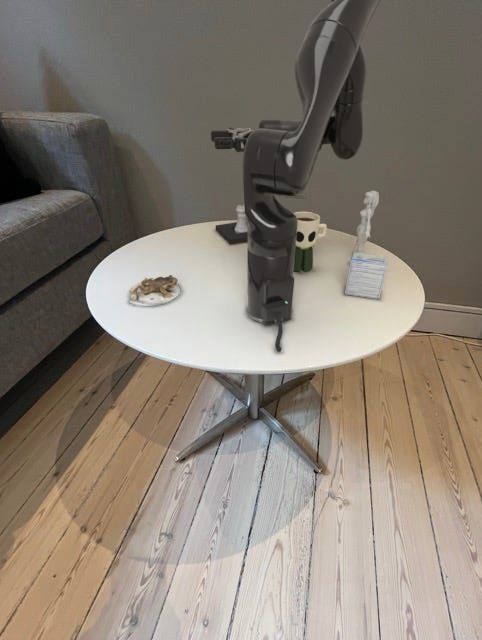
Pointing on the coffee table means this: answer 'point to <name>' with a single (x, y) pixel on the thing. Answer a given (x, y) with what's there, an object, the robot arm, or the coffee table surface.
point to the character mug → (307, 239)
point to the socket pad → (231, 233)
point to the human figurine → (366, 213)
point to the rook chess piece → (241, 220)
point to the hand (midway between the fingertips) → (212, 139)
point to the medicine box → (366, 275)
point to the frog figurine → (154, 291)
